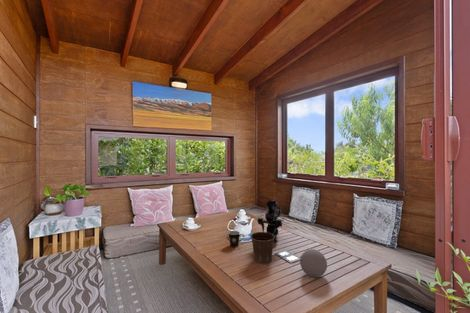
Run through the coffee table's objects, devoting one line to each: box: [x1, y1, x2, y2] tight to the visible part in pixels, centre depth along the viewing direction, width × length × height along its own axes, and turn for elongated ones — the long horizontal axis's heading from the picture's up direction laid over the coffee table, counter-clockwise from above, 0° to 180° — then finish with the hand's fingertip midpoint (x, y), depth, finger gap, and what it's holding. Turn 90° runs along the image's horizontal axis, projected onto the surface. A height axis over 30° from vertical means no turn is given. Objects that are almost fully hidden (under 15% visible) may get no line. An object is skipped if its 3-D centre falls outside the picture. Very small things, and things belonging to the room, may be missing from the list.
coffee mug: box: [228, 230, 245, 248], centre depth 180 cm, size 12×9×10 cm
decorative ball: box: [299, 248, 328, 278], centre depth 135 cm, size 15×15×15 cm
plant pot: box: [250, 231, 275, 264], centre depth 156 cm, size 16×16×16 cm
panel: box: [274, 249, 301, 264], centre depth 159 cm, size 10×16×1 cm, turn 30°
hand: (268, 232), depth 173 cm, fingers open, 8 cm apart
